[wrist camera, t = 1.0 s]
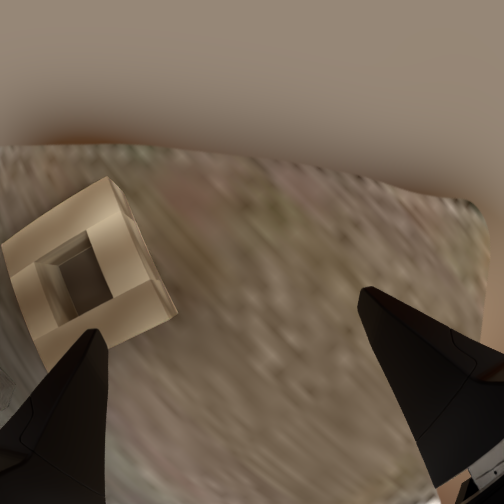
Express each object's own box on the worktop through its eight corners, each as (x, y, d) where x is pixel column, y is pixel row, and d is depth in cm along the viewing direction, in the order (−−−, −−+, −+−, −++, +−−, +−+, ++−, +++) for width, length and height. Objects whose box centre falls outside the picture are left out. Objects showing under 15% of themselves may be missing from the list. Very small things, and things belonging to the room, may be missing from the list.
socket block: (178, 313, 23) (169, 319, 19) (73, 363, 22) (49, 375, 17) (124, 193, 24) (107, 175, 19) (29, 251, 22) (1, 244, 18)
